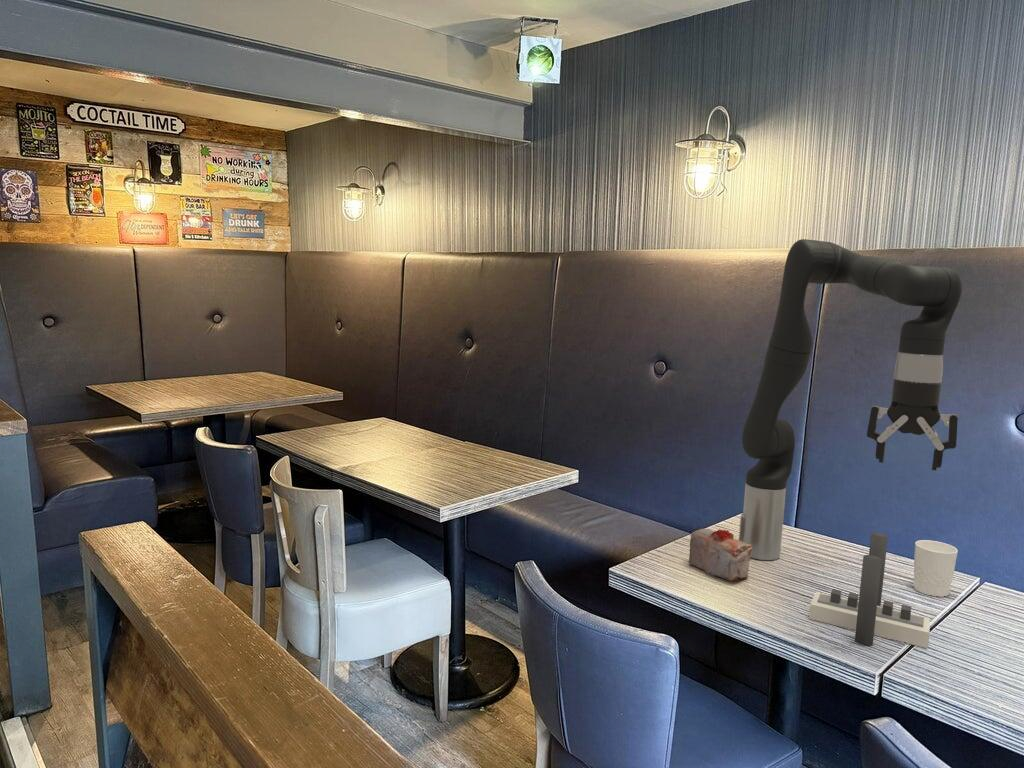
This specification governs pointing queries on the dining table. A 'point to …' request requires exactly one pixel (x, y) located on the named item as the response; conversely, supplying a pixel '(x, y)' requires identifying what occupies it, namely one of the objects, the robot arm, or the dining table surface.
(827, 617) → the breaker panel
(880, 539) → the dark grey cylinder rod
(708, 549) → the food item
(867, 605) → the dark grey post
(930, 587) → the white cup
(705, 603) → the dining table surface
